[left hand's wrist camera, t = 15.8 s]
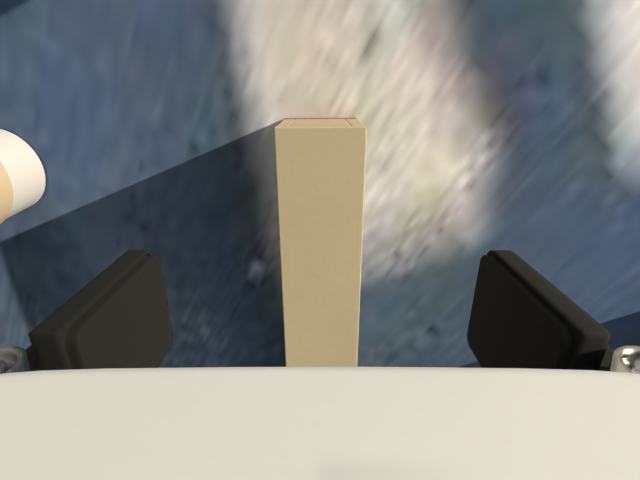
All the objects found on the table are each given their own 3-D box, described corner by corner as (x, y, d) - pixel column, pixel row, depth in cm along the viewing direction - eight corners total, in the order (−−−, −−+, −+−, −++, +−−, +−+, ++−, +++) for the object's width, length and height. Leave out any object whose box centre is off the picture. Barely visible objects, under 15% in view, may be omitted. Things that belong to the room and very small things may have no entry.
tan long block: (349, 338, 38) (356, 397, 31) (293, 339, 38) (287, 398, 31) (355, 117, 30) (367, 126, 23) (285, 118, 30) (273, 127, 23)
